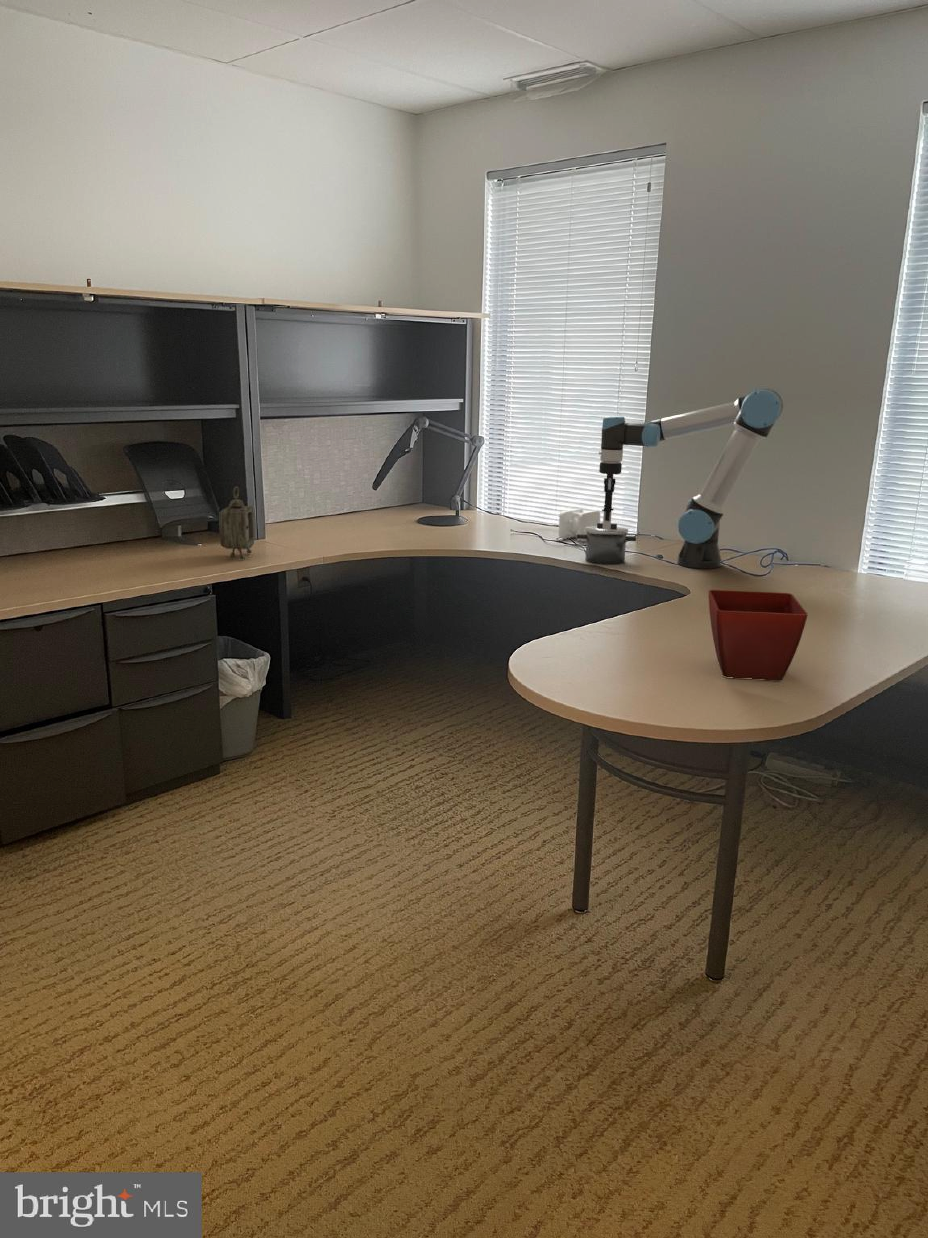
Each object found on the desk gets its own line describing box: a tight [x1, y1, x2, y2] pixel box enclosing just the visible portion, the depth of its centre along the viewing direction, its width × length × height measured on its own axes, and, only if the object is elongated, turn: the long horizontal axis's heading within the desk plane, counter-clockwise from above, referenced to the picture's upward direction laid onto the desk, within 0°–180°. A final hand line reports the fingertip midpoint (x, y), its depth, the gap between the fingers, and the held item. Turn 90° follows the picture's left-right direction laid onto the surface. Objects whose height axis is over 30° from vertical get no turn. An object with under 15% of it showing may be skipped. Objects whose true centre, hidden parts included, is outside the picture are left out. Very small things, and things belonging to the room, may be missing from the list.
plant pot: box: [708, 589, 809, 682], centre depth 205 cm, size 19×19×17 cm
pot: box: [576, 532, 637, 566], centre depth 323 cm, size 19×14×10 cm
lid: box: [586, 522, 629, 535], centre depth 321 cm, size 15×15×3 cm
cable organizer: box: [558, 508, 601, 543], centre depth 363 cm, size 15×11×12 cm
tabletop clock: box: [218, 486, 255, 560], centre depth 316 cm, size 14×9×25 cm, turn 0°
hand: (606, 529), depth 317 cm, fingers closed
